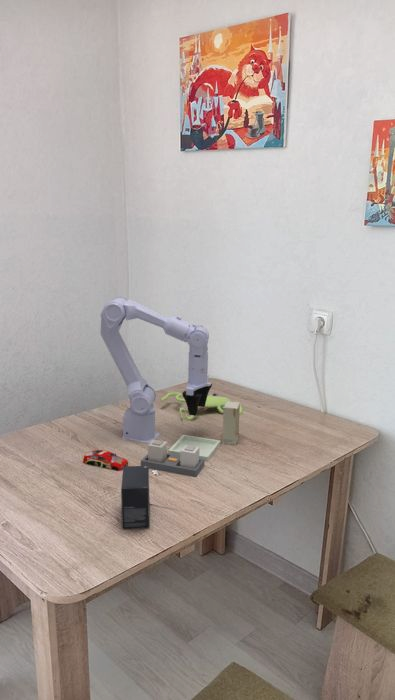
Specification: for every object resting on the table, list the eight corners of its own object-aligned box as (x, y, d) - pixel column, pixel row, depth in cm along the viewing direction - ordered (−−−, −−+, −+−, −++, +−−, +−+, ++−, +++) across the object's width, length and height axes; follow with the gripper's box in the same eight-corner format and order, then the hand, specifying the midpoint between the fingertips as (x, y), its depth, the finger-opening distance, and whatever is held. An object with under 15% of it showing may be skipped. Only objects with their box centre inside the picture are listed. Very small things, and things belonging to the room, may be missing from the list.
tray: (168, 456, 162) (168, 450, 161) (183, 439, 173) (183, 434, 172) (207, 463, 158) (207, 457, 157) (220, 446, 169) (220, 440, 168)
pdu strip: (140, 468, 154) (140, 459, 153) (151, 458, 160) (151, 449, 160) (195, 479, 149) (196, 469, 148) (204, 467, 155) (204, 458, 154)
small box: (122, 504, 136) (122, 465, 133) (149, 504, 136) (149, 464, 134) (120, 529, 126) (120, 487, 123) (150, 528, 126) (149, 486, 123)
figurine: (157, 406, 201) (157, 391, 200) (224, 398, 211) (225, 384, 209) (174, 425, 185) (174, 409, 183) (247, 415, 194) (247, 400, 193)
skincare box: (236, 447, 168) (237, 409, 165) (221, 445, 169) (223, 407, 166) (238, 438, 175) (240, 401, 171) (225, 437, 175) (226, 400, 172)
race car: (132, 467, 155) (132, 453, 154) (122, 475, 151) (122, 462, 150) (91, 457, 160) (91, 444, 159) (80, 465, 155) (80, 452, 154)
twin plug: (148, 465, 155) (148, 443, 153) (154, 459, 158) (154, 438, 157) (161, 467, 153) (161, 446, 152) (167, 461, 157) (167, 440, 155)
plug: (180, 471, 152) (180, 449, 150) (185, 464, 155) (185, 443, 154) (194, 473, 150) (194, 451, 149) (199, 467, 154) (199, 445, 152)
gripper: (202, 376, 158) (201, 420, 162) (218, 362, 172) (216, 404, 175) (179, 373, 161) (179, 417, 164) (196, 360, 174) (195, 401, 177)
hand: (197, 410), depth 170 cm, fingers open, 7 cm apart
